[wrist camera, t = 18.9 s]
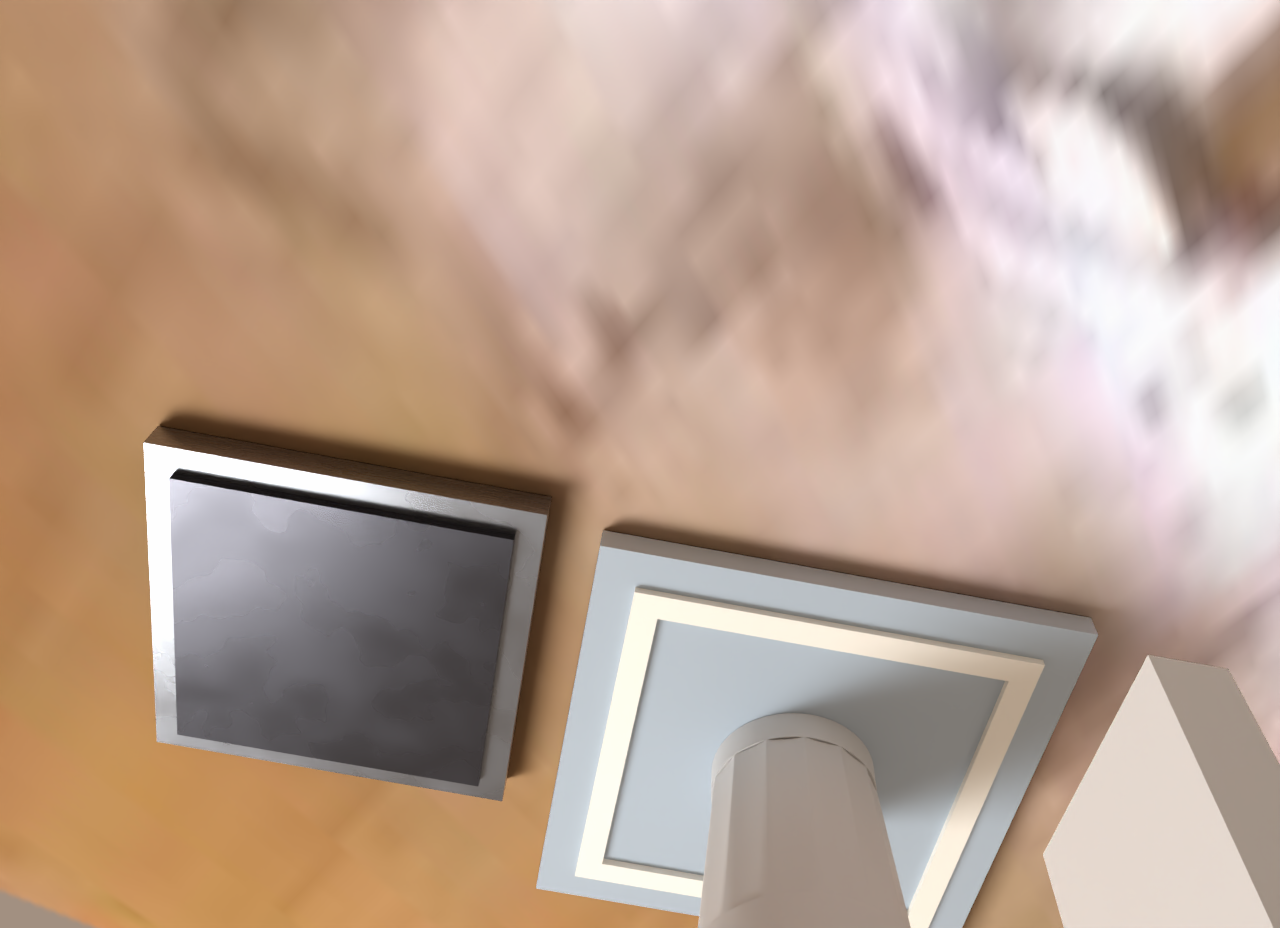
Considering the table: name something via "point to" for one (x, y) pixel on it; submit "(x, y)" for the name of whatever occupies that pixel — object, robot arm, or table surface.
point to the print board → (797, 683)
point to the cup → (797, 831)
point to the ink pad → (338, 611)
